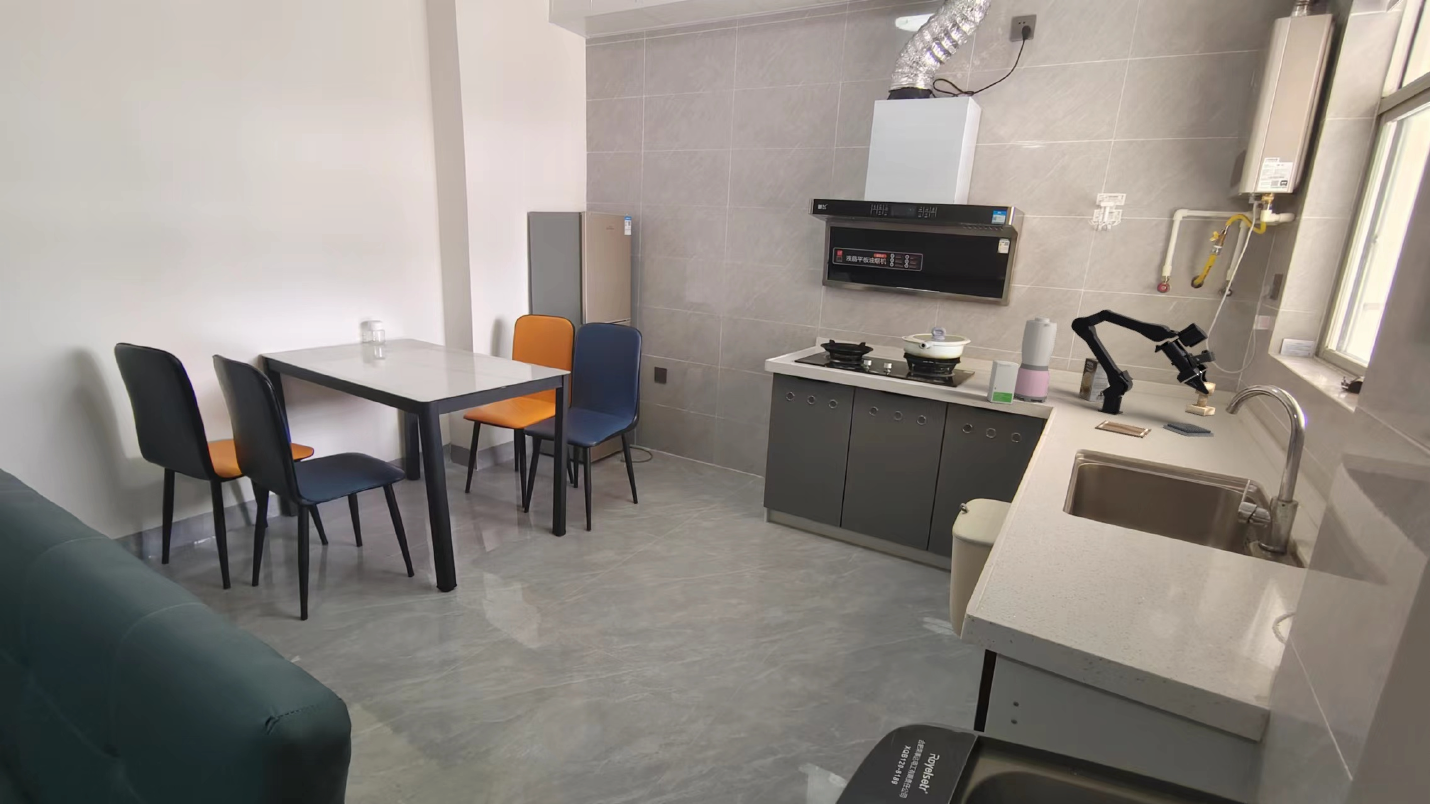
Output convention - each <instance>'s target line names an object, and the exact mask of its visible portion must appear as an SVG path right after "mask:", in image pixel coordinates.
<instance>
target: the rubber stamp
mask: <svg viewBox="0 0 1430 804" xmlns="http://www.w3.org/2000/svg"><path fill="white" fill-rule="evenodd" d="M1204 384H1205V386H1206V388H1207V389H1208V391H1209V394H1207V395H1205V394H1204V393H1202V392H1200V391H1198V390H1196V389H1195V392H1194V393H1195V394H1196V395H1198V398H1197V401H1196V402H1197V403H1193V404H1192V403H1190V404H1186V405H1185V410H1184V413H1187V414H1192V415H1195V416H1200V417H1211V416H1212V417H1213V416H1215V411H1216V407H1212V406H1207V403H1208V398H1209V397H1212V396H1214V392H1215V389H1216V383H1213V382H1209V381H1208V382H1204Z"/></svg>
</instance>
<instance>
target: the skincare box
mask: <svg viewBox="0 0 1430 804" xmlns="http://www.w3.org/2000/svg"><path fill="white" fill-rule="evenodd" d="M1019 367H1020V364H1019V363H1017V362H1015V361H1008V360H1000V359H993V360H992V365H991V371H990V377H989V383H988V388H987V394H986V400H988V402H990V403H994V404H995V403H996V404H1003V405H1004V404H1006V405H1013V401H1014V397H1015V396H1014V391H1015V385H1016V379H1017V374H1018V368H1019Z"/></svg>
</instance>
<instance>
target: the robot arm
mask: <svg viewBox="0 0 1430 804" xmlns="http://www.w3.org/2000/svg"><path fill="white" fill-rule="evenodd" d="M1103 322H1108V323H1110V324H1114V325H1115V326H1118V327H1122V328H1125V329H1127V330H1130V331H1134V332H1136V333H1139V334H1140V335H1142V336H1143V337H1145V338H1146V339H1148V340H1150V341H1151V342H1154V343H1161V342H1162V343H1161V344H1155V349H1154V353H1159V352H1160V351H1161V352H1162V353H1163V354H1164V356H1166V358H1168V360H1169V361H1170V365H1171V366H1173V367H1175V369H1176V370H1177V371H1178V374H1177V376H1176V380H1177V382H1179V383H1180V384H1182V383H1183V384H1184V385H1187V386H1188V387H1190V388H1192V389H1194V390H1195V391H1196V390H1198V391H1200V392H1202V393H1204V394H1205V395H1207V394H1209V391H1208V389H1207V388H1206V386H1205V384H1204V382H1209V381H1208V379H1207V376H1206V375H1207V373H1208V368H1209V366H1207V364H1206V363H1211V362H1215V361H1216V356H1215V353H1214V351H1213V350H1211V351H1210V350H1209V349H1204V350H1201V353H1199V354H1195V355H1194V354H1193V353H1192V352H1188V350H1187V349H1186V348H1188V347H1189V348H1191V349H1192V348H1194V347H1196V346H1197V345H1199V344H1200V343H1202V342H1204V341H1206V340H1208V339H1209V336H1208V335H1207V333H1206V332H1205V330H1204V329H1202V328H1201V327H1200V326H1199V325H1197V324H1196V323H1195V322H1192V323H1191V324H1189V325H1188V326H1186V327H1185V328H1184V329H1182V330H1180V331H1178V330H1174V329H1171V328H1170V327H1169V326H1168V325H1165V324H1162V323H1161V324H1160V323H1153V322H1146V321H1142V320H1139V319H1136V318H1134V317H1131V316H1127V315H1125V314H1121V313H1118V312H1114V311H1112V310H1111V309H1102V310H1100V311H1098V312H1095V313H1093V314H1091V315H1087V316H1078V317H1076V318H1075V319H1073V320H1072V322H1071V325H1070V326H1071V330H1072V331H1073V332H1074V333H1075V334H1076V335H1077V336H1078V337H1079V338H1081V339H1082V340H1083V341H1084V342H1085V343H1086V344H1087V346H1088V348H1089V349H1090V351H1091V352H1092V354H1093V355H1094V358H1095V359H1097V360H1098V362H1099V363H1100V365H1101V366H1102V368H1103V369H1104V371H1105V372H1106V375H1107V379H1108V386H1107V388H1106V389H1104V390H1103V396H1104V401H1103V402H1102V407H1101V408H1098V409H1097V411H1098V412H1102V413H1107V414H1112V415H1119V414H1123V413H1124V411H1123V410H1121V405H1122V400H1123V396H1125V394H1126V393H1128V392H1130V391H1131V390H1132V389H1133V386H1134V382H1133V381H1132V380H1134V378H1132V377H1131V376H1130V373H1129V371H1128V369H1126V370H1125V369H1124V370H1121V369H1120V368H1119V367H1118V365H1117V364H1116V362H1115V360H1114V359H1113V358H1112V356H1111V355H1110V353H1109V352H1108V350H1107V349H1106V347H1105V346H1104V344H1103V343H1102V341H1101V339H1100V337H1099V336H1098V334H1097V329H1096V325H1098V324H1099V325H1100V323H1103ZM1170 339H1174V340H1171V341H1170ZM1164 341H1165V342H1164Z"/></svg>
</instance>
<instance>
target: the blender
mask: <svg viewBox="0 0 1430 804" xmlns="http://www.w3.org/2000/svg"><path fill="white" fill-rule="evenodd" d="M1050 320H1051V318H1049V317H1041V316H1038V317H1037V316H1035V317H1034V319H1027V320H1026V321H1025V322H1026V323H1025V325H1024V326H1025V327H1024V330H1023V336H1022V342H1021V362H1020V363H1021V364H1019V368H1018V374H1017V379H1016V385H1015V391H1014V396H1013V397H1017V398H1022V399H1023V401H1024V402H1025V403H1030V402H1031V400H1036V401H1040V403H1043V402H1044V403H1045V402H1046V400H1047V398H1048V396H1047V394H1048V390H1049V384H1050V379H1051V375H1050V371H1049V363H1050V361H1051V358H1052V354H1053V352H1054V349H1055V345H1056V339H1057V338H1056V337H1057V329H1058V323H1057V322H1055V321H1050Z"/></svg>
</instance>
